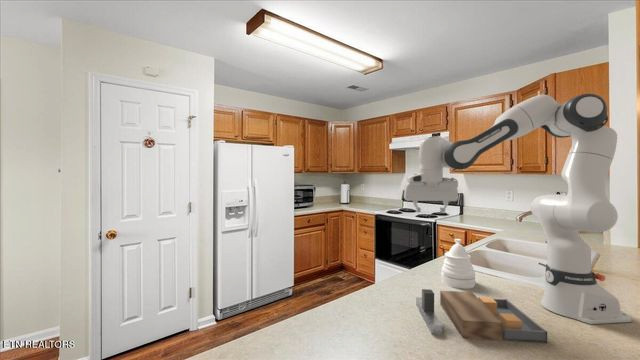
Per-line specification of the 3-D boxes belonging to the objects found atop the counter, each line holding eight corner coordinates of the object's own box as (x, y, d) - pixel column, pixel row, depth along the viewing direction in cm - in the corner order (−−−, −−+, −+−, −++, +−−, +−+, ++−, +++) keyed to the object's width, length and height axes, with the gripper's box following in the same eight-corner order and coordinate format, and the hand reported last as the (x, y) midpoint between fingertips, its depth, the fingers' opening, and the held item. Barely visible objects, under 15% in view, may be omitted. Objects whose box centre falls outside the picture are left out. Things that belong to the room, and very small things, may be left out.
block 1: (478, 308, 94) (490, 309, 94) (483, 314, 90) (496, 314, 90) (478, 296, 94) (490, 297, 94) (483, 302, 90) (497, 302, 90)
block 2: (498, 326, 83) (512, 327, 83) (506, 334, 79) (521, 334, 79) (499, 313, 83) (513, 313, 83) (506, 320, 79) (521, 320, 79)
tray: (506, 307, 96) (506, 299, 96) (547, 342, 76) (547, 332, 76) (471, 306, 97) (471, 297, 97) (502, 340, 77) (502, 329, 77)
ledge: (471, 306, 97) (471, 292, 97) (502, 340, 77) (502, 322, 77) (440, 304, 98) (440, 290, 98) (462, 337, 78) (463, 320, 78)
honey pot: (440, 275, 127) (441, 236, 126) (472, 279, 122) (473, 238, 122) (442, 285, 115) (442, 242, 114) (477, 290, 110) (477, 245, 110)
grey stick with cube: (424, 306, 98) (424, 280, 98) (442, 335, 80) (442, 304, 80) (416, 305, 98) (416, 280, 98) (431, 335, 80) (431, 304, 80)
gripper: (455, 177, 112) (454, 211, 112) (403, 177, 114) (402, 210, 115) (461, 177, 106) (460, 213, 106) (406, 177, 108) (405, 212, 108)
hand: (430, 212), depth 110 cm, fingers open, 8 cm apart
